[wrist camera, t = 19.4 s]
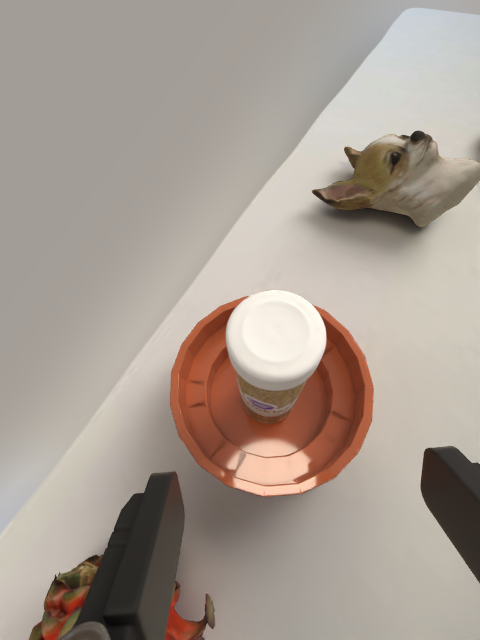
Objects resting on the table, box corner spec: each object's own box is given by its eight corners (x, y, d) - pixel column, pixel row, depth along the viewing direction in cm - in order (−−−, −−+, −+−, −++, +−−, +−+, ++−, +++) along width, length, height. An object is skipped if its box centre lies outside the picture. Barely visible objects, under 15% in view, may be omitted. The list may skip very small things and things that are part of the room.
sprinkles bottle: (239, 422, 24) (217, 376, 12) (244, 368, 26) (230, 283, 14) (295, 427, 23) (331, 384, 12) (295, 372, 26) (326, 288, 14)
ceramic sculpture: (488, 185, 23) (315, 143, 28) (436, 258, 31) (306, 215, 36) (514, 117, 27) (358, 92, 32) (463, 197, 35) (342, 166, 40)
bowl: (271, 298, 30) (273, 265, 25) (386, 405, 25) (417, 389, 20) (157, 388, 26) (133, 370, 22) (261, 536, 21) (261, 556, 16)
